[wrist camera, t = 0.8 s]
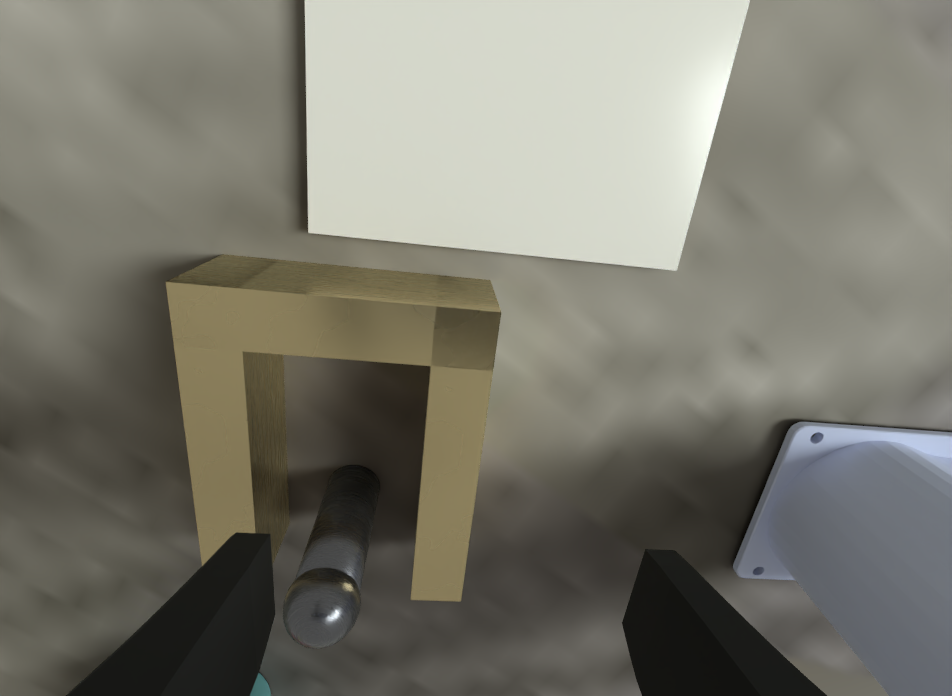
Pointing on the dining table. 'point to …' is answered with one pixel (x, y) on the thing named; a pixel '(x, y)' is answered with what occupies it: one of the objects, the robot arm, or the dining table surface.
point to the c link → (339, 337)
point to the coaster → (515, 122)
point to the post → (333, 561)
